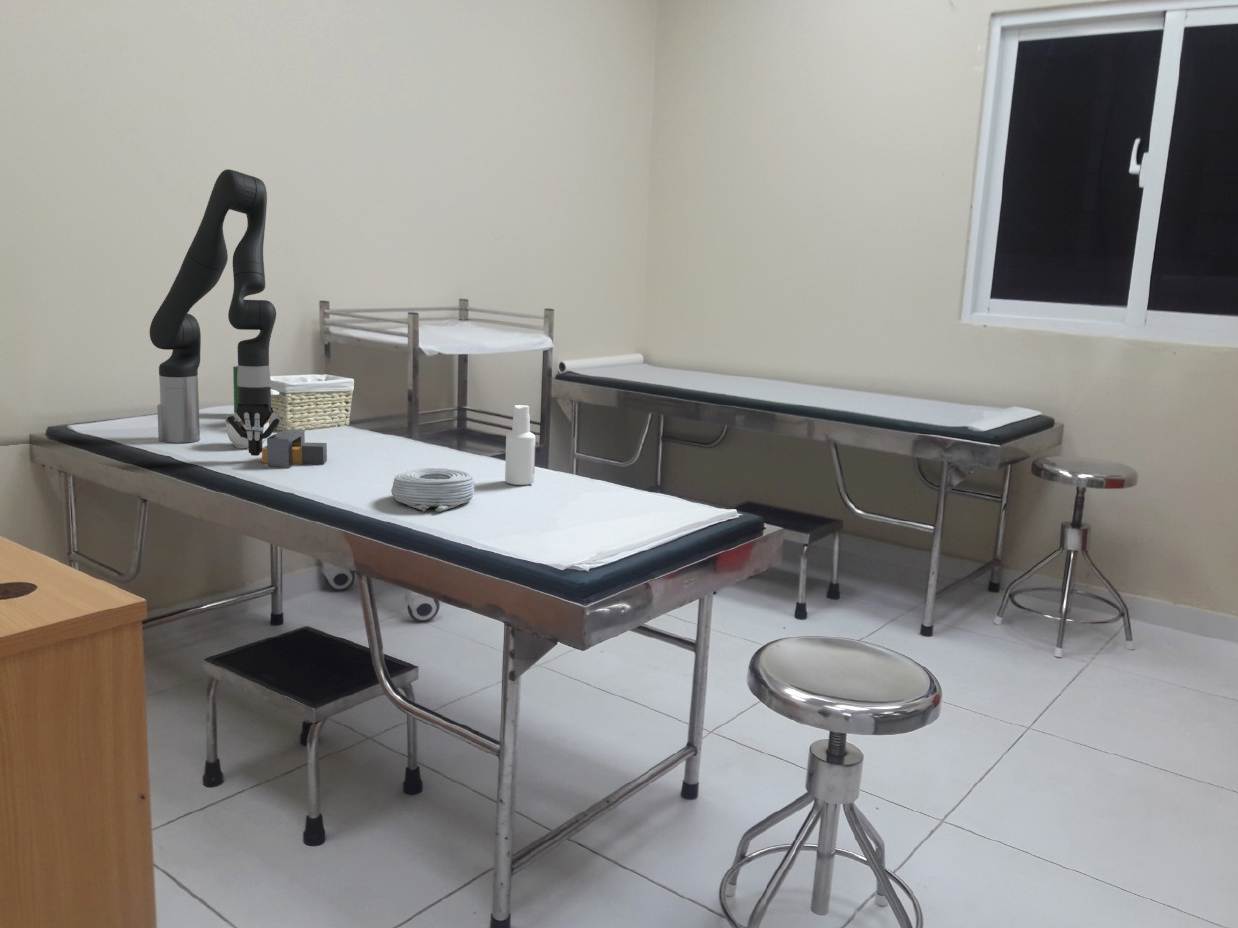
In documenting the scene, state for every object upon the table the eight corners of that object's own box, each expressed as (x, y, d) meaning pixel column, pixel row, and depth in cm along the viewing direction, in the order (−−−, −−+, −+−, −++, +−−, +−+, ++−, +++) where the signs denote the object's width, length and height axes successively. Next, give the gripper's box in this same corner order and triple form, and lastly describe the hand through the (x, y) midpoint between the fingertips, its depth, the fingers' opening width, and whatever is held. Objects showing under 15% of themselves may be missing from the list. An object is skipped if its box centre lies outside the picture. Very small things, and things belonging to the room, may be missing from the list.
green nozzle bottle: (273, 417, 304) (272, 352, 300) (260, 422, 295) (259, 355, 291) (242, 415, 304) (240, 351, 301) (228, 420, 296) (226, 353, 292)
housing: (267, 467, 234) (266, 438, 232) (284, 456, 246) (284, 429, 245) (288, 468, 234) (288, 439, 232) (304, 457, 247) (304, 430, 245)
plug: (261, 463, 238) (261, 445, 237) (266, 459, 242) (265, 441, 242) (323, 464, 239) (323, 446, 239) (326, 460, 244) (326, 442, 243)
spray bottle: (538, 481, 233) (541, 405, 230) (526, 486, 227) (529, 409, 223) (512, 477, 235) (514, 403, 232) (499, 483, 229) (501, 406, 225)
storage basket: (325, 420, 305) (324, 372, 302) (357, 427, 295) (356, 378, 292) (254, 427, 287) (253, 376, 284) (285, 435, 277) (284, 382, 274)
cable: (434, 515, 199) (435, 485, 197) (372, 500, 208) (372, 472, 206) (490, 500, 213) (491, 473, 212) (430, 487, 222) (430, 461, 221)
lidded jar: (251, 452, 251) (250, 415, 249) (217, 447, 254) (215, 411, 252) (278, 445, 261) (278, 410, 259) (245, 441, 264) (244, 406, 262)
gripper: (220, 384, 232) (222, 456, 235) (276, 387, 233) (278, 459, 236) (231, 381, 240) (233, 451, 243) (286, 383, 240) (287, 453, 243)
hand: (255, 455), depth 239 cm, fingers closed
